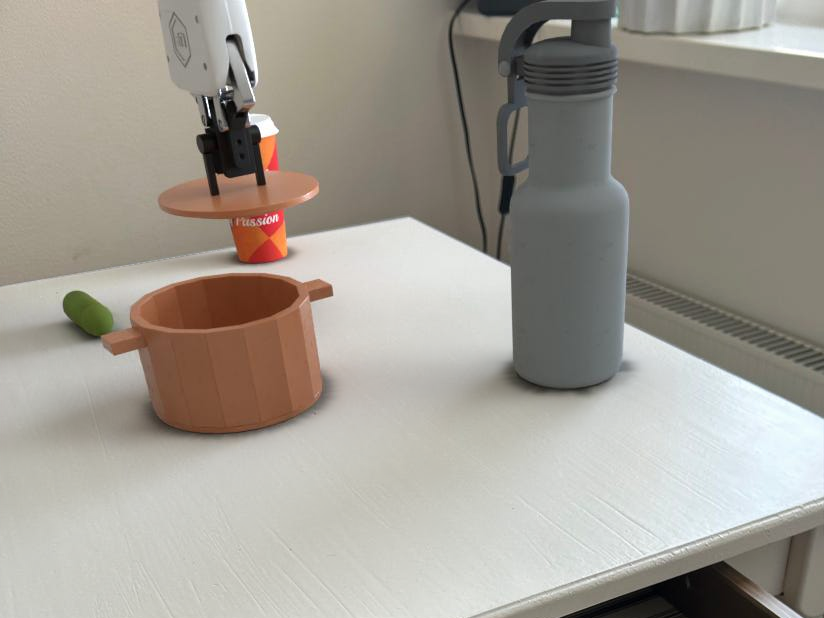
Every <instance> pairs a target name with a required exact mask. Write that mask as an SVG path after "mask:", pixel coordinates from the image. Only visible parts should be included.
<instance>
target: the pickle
mask: <svg viewBox="0 0 824 618" xmlns="http://www.w3.org/2000/svg"><path fill="white" fill-rule="evenodd" d="M62 310H63V312H64V314H65V315H66V317H67V318H69V320H71V321H72V322H74V323H75V324H76V325H77V326H79V328H81V329H83V331H85V332H86V333H87V334H89V335H91V336H93V337H101V336H102V335H105V334H109V333H111V331H112V330H113V328H114V325H115V319H114V316H113V313H112V312H111V310H110V309H109V308H108V307H107V306H105V305H104V304H103V303H101V302H100V301H98V300H97V299H95V298H94V297H92V296H91V295H90V294H88V293H87V292H85V291H83V290H77V289H76V290H71V291H69V292H68V293H66V295H65V296H64V297H63V299H62Z"/></svg>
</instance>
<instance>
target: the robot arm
mask: <svg viewBox="0 0 824 618" xmlns="http://www.w3.org/2000/svg"><path fill="white" fill-rule="evenodd" d="M156 1H157V8H158V15H159V16H158V17H159V21H160V27H161V33H162V38H163V39H162V40H163V44H164V49H165V51H164V52H165V55H166V56H165V57H166V61H167V67H168V71H169V77H170V80H171V82H172V83H173V85H174V86H175V87H177V88H178V89H180V90H182V91H185V92H188V93H189V94H190V95H191V96H192V97H193V99H194V100H195V102H196V104H197V106H198V111H199V116H200V121H201V124H202V126H203V128H204V132H205V133H210V132H216V131H218V132H216V137H217V142H218V147H219V151H217V152H212V153H211V154H212V158H213V163H214V168H215V173H216V175H217V174H223V173H224V175H225V177H227V178H234V177H239V176H244V175H249V174H254V173H255V172H256V163H255V158H254V152H253V147H252V141H251V135H250V130H249V128H250V118H249V114H250V110H251V109H253V107H254V106H255V105H256V99H255V96H254V95H255V94H254V91H253V90H254V89H255V88H256V87H257V85H258V83H259V71H258V69H259V68H258V63H257V62H258V61H257V56H256V55H257V54H256V49H255V44H254V38H253V32H252V27H251V22H250V18H249V13H248V8H247V5H246V0H156ZM228 87H230V88H232V89H228ZM207 127H209V128H207ZM205 133H204V134H205Z"/></svg>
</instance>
